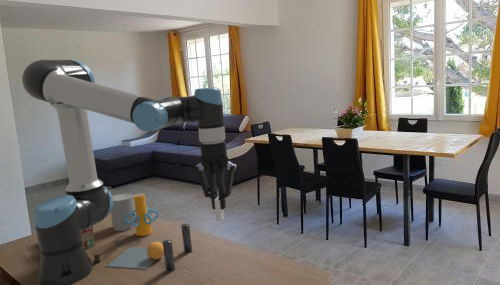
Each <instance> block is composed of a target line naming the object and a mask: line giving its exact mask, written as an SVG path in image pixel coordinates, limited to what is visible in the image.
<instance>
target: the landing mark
mask: <svg viewBox="0 0 500 285" xmlns="http://www.w3.org/2000/svg"><path fill="white" fill-rule="evenodd" d="M147 248H148V247H143V246H142V247H141V246H131V247H129V248H127V249H126V250H125V251H124V252H122V253H121V254H120V255H119V256H117V257H116V258H115V259H114V260H112V261H111V262H109V264H107V265H106V267H107V268H120V269H121V268H123V269H135V270H147V269H148V268H149V267H150V266H151V265H152V264H154V262H156V260H154V259H151V258H150V257H149V256H148V255H147Z"/></svg>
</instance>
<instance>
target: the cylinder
mask: <svg viewBox="0 0 500 285" xmlns="http://www.w3.org/2000/svg"><path fill="white" fill-rule="evenodd" d="M133 195H134V204H135V210H133V212H132V213H129V214H127V215H126V217H125V221H126V223H128V224H133V226H134V227H135V228H134V231H135V235H136V236H137V237H144V236H149V235H150V234H152V232H153V229H152V228H153V227H152V222H153V221H156V220H158V218H159V212H158V211H157V210H156V209H151V208H150V207H147V203H146V196H145V193H136V194H133ZM134 212H136V215H135V214H134ZM152 212H153V213H155V214H156V215H155V217H154V218H152ZM130 215H133V219H132V222H128V220H127V217H128V216H130Z"/></svg>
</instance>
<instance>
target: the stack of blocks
mask: <svg viewBox="0 0 500 285" xmlns="http://www.w3.org/2000/svg"><path fill="white" fill-rule="evenodd" d="M94 235H95V234H94V225H93V226H91V227H89V228H88V229H86V230H84V231H82V232H81V237H82V243H83V247H84V248H85V250H87V249H90V248H92V247H95V246H96V240H95V236H94Z"/></svg>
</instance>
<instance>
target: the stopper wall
mask: <svg viewBox="0 0 500 285" xmlns="http://www.w3.org/2000/svg"><path fill="white" fill-rule="evenodd" d="M117 250H118V249H117V243H116V242H110V243H109V244H107V245H106V246H104V247H102V249H101V250H99V251H97V252H96V253H94V256H93V257H94V262H95V263H101V262H103V261H105V260H106V259H107V258H108V257H109V256H112V255H113V253H115V252H116V251H117Z"/></svg>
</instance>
